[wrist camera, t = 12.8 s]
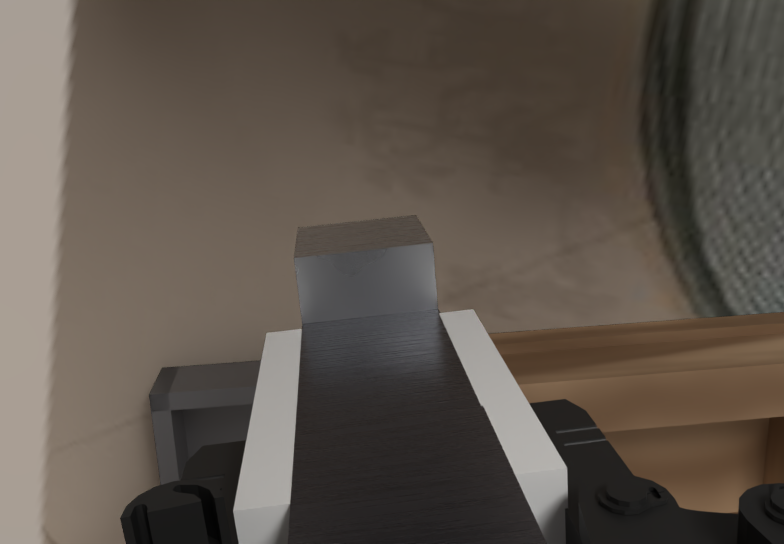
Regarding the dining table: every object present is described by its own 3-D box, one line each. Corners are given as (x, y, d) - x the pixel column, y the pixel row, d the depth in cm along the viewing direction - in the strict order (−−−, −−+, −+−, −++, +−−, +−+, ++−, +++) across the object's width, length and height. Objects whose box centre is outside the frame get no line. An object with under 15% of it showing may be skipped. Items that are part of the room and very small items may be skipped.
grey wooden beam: (298, 227, 19) (241, 644, 6) (416, 214, 19) (641, 589, 6) (325, 440, 21) (333, 1156, 7) (433, 426, 21) (637, 1098, 7)
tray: (162, 367, 34) (148, 394, 32) (420, 348, 36) (430, 372, 33) (189, 591, 38) (180, 634, 35) (427, 567, 39) (436, 607, 36)
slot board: (431, 338, 36) (450, 378, 31) (789, 311, 37) (860, 346, 33) (437, 574, 39) (455, 645, 34) (765, 540, 41) (826, 602, 36)
